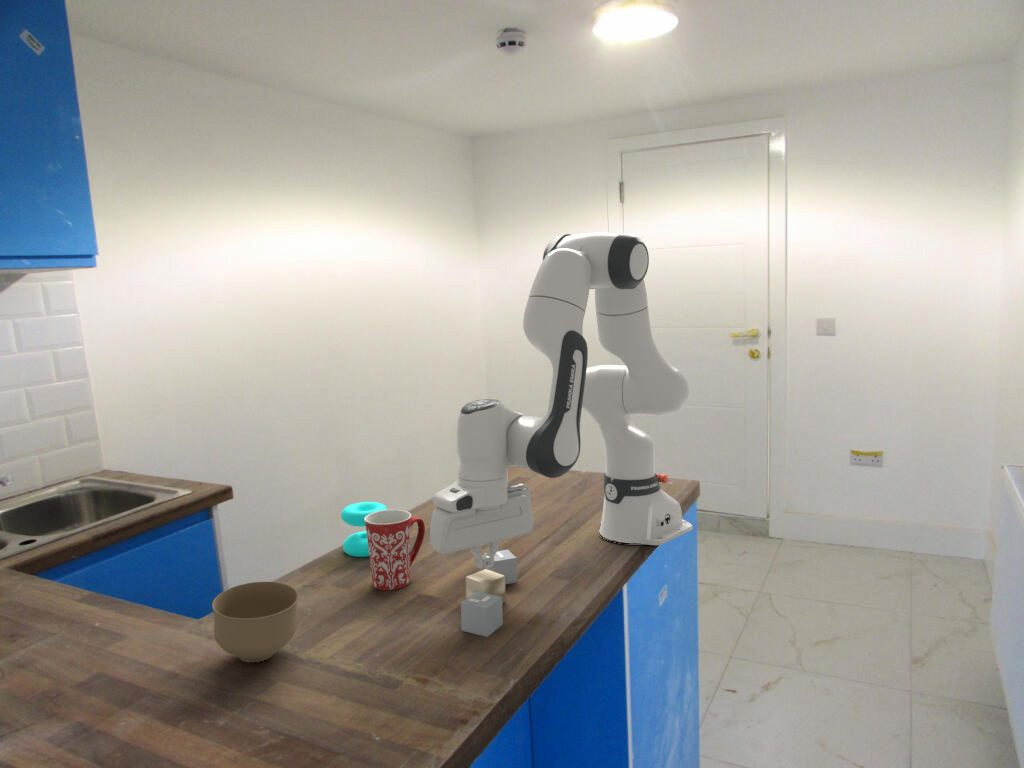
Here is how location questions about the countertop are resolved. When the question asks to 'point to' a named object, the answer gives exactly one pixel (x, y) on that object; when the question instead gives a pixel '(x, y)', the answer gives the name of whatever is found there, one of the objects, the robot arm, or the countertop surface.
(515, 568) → the grey block
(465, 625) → the grey block
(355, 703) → the countertop surface
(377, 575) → the mug
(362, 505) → the donuts
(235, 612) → the bowl
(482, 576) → the maple block
